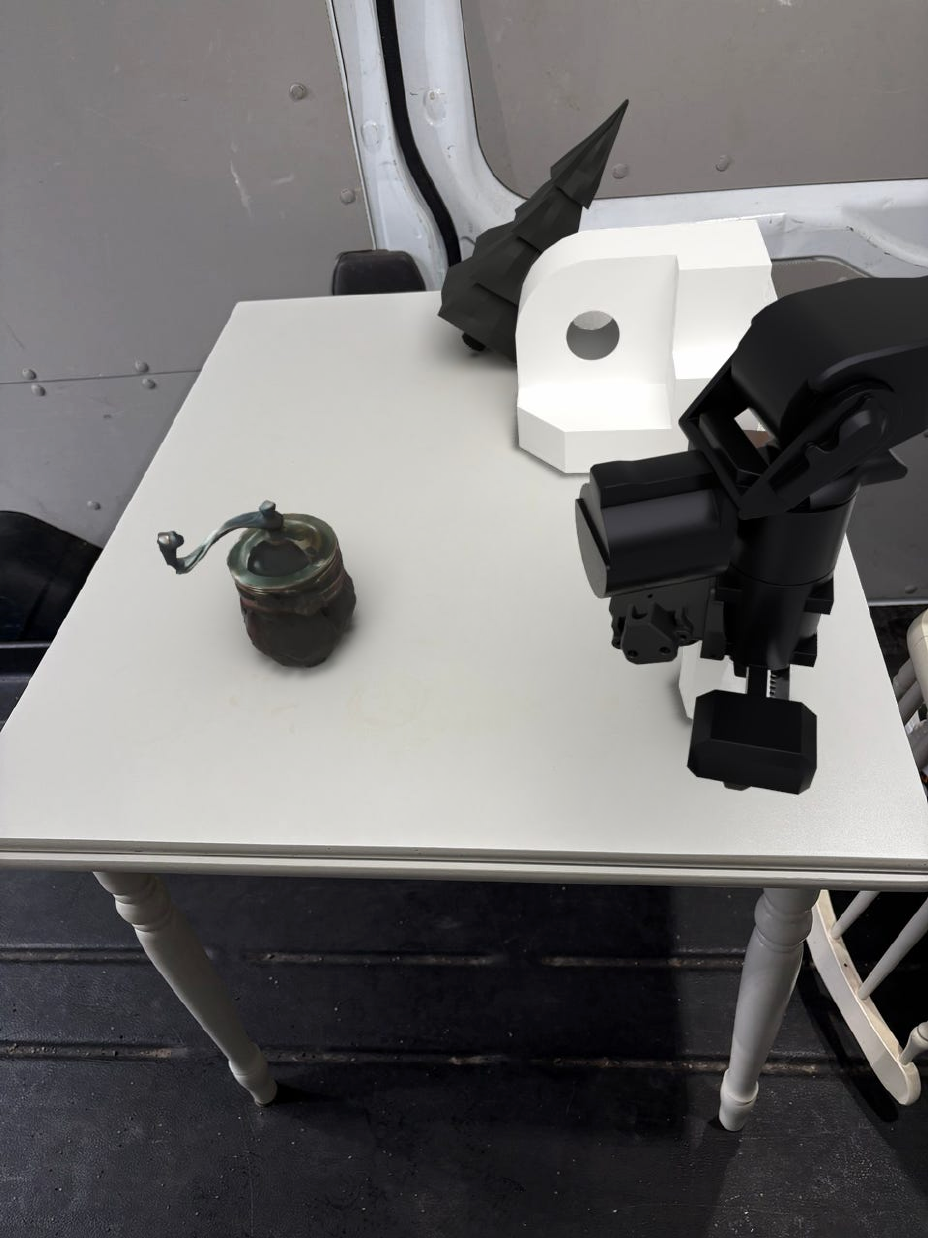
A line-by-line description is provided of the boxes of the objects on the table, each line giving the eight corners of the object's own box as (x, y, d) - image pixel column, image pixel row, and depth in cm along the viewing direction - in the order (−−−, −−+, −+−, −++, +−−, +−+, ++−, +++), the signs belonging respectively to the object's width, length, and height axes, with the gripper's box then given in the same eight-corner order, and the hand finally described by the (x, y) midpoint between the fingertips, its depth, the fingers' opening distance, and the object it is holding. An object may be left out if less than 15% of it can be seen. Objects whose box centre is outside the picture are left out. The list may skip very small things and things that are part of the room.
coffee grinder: (196, 662, 81) (124, 516, 68) (315, 579, 87) (269, 432, 75) (274, 730, 74) (210, 583, 61) (396, 635, 81) (361, 484, 68)
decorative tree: (515, 395, 115) (686, 157, 92) (421, 341, 110) (575, 77, 87) (519, 342, 125) (673, 116, 102) (432, 291, 120) (573, 43, 97)
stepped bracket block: (516, 474, 97) (505, 303, 82) (524, 395, 108) (515, 234, 94) (750, 469, 93) (781, 289, 78) (731, 388, 105) (755, 219, 90)
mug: (685, 652, 75) (696, 572, 68) (786, 670, 73) (808, 589, 66) (662, 760, 68) (672, 682, 61) (773, 784, 65) (797, 706, 58)
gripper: (646, 435, 52) (634, 612, 63) (593, 658, 39) (590, 828, 51) (839, 450, 49) (790, 632, 60) (846, 695, 37) (784, 867, 48)
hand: (738, 728), depth 55 cm, fingers open, 9 cm apart
